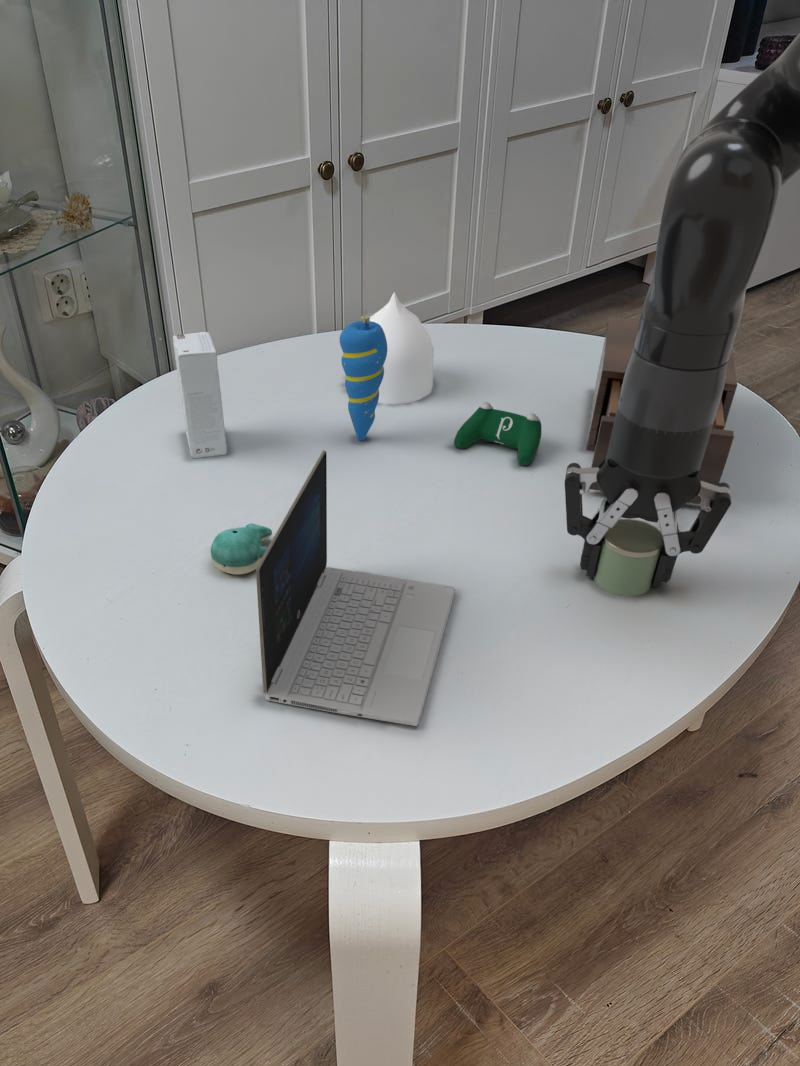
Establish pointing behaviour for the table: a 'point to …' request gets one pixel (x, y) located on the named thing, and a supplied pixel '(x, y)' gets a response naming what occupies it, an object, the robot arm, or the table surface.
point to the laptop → (343, 623)
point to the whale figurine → (239, 548)
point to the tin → (628, 558)
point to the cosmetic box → (200, 394)
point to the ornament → (363, 370)
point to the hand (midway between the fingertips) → (623, 576)
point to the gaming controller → (502, 431)
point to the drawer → (713, 453)
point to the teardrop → (404, 355)
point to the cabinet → (615, 365)
